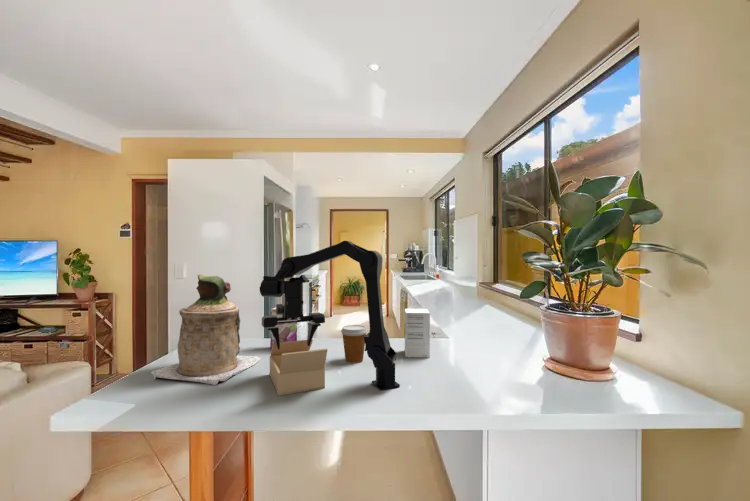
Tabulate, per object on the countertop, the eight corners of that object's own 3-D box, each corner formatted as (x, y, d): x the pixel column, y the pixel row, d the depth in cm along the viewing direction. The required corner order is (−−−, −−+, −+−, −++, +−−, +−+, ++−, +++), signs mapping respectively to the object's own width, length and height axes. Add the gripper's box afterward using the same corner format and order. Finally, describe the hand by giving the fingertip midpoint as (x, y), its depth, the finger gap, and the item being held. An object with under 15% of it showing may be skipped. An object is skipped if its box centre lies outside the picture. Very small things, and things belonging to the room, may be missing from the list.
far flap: (270, 355, 113) (270, 354, 113) (309, 351, 118) (308, 350, 118) (273, 344, 108) (272, 343, 108) (312, 340, 113) (312, 339, 113)
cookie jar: (219, 386, 103) (219, 276, 103) (147, 380, 108) (148, 275, 108) (262, 361, 127) (263, 272, 127) (202, 357, 132) (203, 271, 132)
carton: (324, 388, 101) (324, 367, 101) (278, 395, 96) (278, 373, 96) (309, 369, 118) (309, 351, 118) (269, 374, 113) (269, 355, 113)
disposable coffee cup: (366, 364, 123) (366, 330, 123) (339, 364, 123) (339, 330, 123) (367, 356, 132) (368, 324, 132) (342, 356, 132) (342, 324, 132)
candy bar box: (269, 350, 141) (269, 309, 141) (274, 346, 146) (274, 307, 146) (296, 350, 140) (297, 309, 140) (300, 347, 145) (300, 307, 145)
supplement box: (404, 350, 141) (404, 308, 141) (427, 350, 140) (427, 308, 141) (405, 357, 131) (405, 312, 131) (430, 357, 131) (430, 312, 131)
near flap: (323, 367, 101) (324, 368, 101) (279, 373, 96) (280, 374, 96) (327, 348, 98) (327, 349, 98) (281, 353, 93) (282, 354, 93)
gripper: (316, 294, 122) (316, 340, 121) (259, 296, 114) (259, 345, 113) (325, 296, 111) (325, 346, 111) (263, 299, 104) (263, 353, 103)
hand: (293, 347), depth 110 cm, fingers open, 9 cm apart
